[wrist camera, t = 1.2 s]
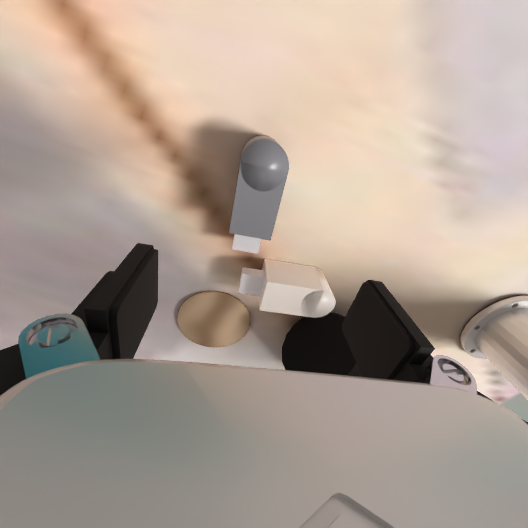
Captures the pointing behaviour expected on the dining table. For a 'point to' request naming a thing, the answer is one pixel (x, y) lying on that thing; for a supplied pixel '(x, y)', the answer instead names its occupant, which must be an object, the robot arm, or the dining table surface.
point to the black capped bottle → (319, 347)
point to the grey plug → (258, 192)
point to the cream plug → (288, 288)
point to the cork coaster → (213, 319)
